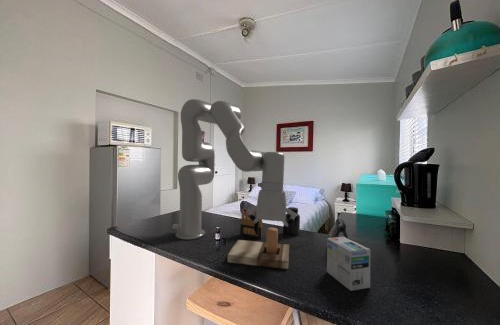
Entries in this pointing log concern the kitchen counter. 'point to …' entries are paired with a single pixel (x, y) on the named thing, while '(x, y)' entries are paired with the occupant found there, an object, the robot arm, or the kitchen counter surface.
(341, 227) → the phone stand
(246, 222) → the ammunition clip
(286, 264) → the plywood deck
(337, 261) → the light bulb box
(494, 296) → the kitchen counter surface
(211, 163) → the robot arm
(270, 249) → the peg
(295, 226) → the supplement bottle
